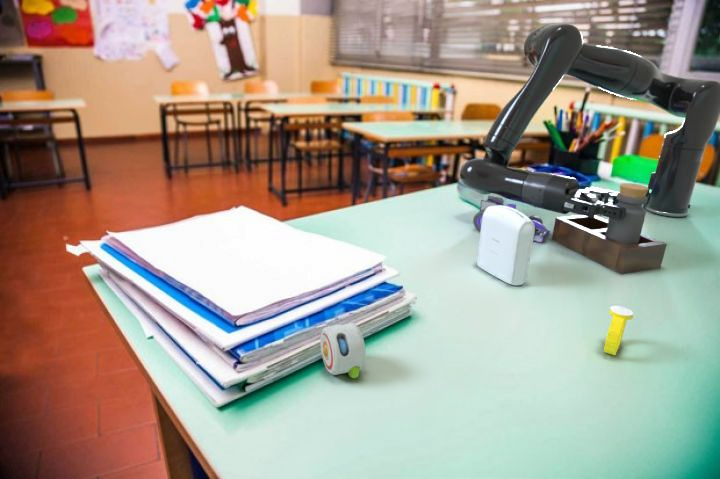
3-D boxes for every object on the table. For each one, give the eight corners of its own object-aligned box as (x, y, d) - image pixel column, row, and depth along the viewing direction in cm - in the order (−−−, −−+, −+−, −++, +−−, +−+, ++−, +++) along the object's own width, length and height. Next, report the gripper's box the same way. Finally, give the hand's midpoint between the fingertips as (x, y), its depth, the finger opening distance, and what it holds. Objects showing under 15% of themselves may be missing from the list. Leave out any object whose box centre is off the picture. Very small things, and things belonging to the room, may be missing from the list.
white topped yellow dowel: (618, 363, 63) (629, 323, 61) (595, 356, 65) (605, 316, 63) (626, 343, 68) (636, 305, 66) (604, 336, 69) (614, 299, 67)
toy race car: (540, 245, 102) (545, 215, 100) (471, 230, 110) (475, 202, 108) (550, 232, 110) (556, 205, 108) (486, 219, 118) (489, 193, 115)
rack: (551, 239, 106) (555, 217, 104) (587, 235, 110) (591, 214, 108) (621, 274, 90) (627, 249, 88) (660, 268, 93) (667, 243, 92)
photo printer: (472, 265, 91) (480, 201, 87) (490, 261, 93) (499, 199, 89) (510, 288, 83) (522, 218, 78) (529, 284, 85) (542, 215, 80)
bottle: (594, 254, 99) (610, 181, 93) (621, 254, 99) (639, 182, 94) (610, 266, 93) (628, 190, 88) (639, 266, 94) (659, 190, 88)
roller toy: (331, 388, 56) (332, 344, 54) (314, 357, 62) (315, 317, 60) (366, 380, 58) (369, 337, 56) (347, 351, 64) (348, 311, 61)
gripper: (537, 179, 97) (624, 197, 86) (566, 169, 106) (648, 184, 96) (530, 215, 99) (615, 237, 89) (560, 203, 109) (639, 221, 99)
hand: (632, 210), depth 92 cm, fingers open, 8 cm apart
